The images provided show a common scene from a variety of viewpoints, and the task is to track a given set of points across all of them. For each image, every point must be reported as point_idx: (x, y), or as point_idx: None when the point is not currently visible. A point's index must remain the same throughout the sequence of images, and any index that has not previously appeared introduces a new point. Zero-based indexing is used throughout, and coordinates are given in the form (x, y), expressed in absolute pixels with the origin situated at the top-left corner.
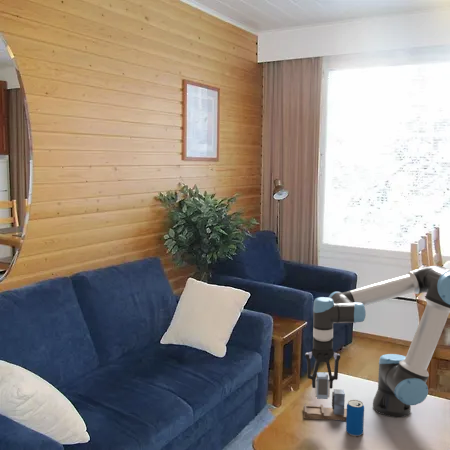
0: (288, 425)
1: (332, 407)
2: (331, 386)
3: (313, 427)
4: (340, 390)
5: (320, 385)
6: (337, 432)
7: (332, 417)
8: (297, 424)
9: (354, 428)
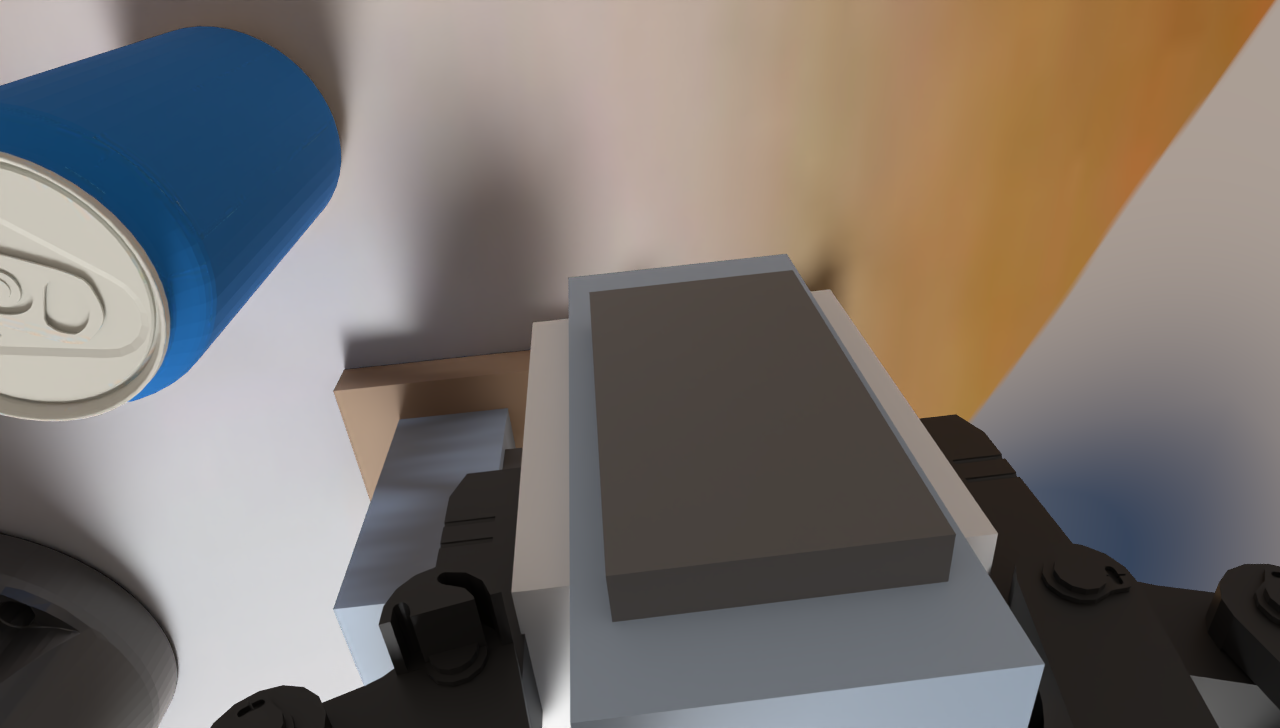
0: (1016, 127)
1: None
2: (476, 510)
3: (729, 146)
4: None
5: (810, 406)
6: (442, 92)
7: (521, 363)
8: (908, 173)
9: (171, 39)
